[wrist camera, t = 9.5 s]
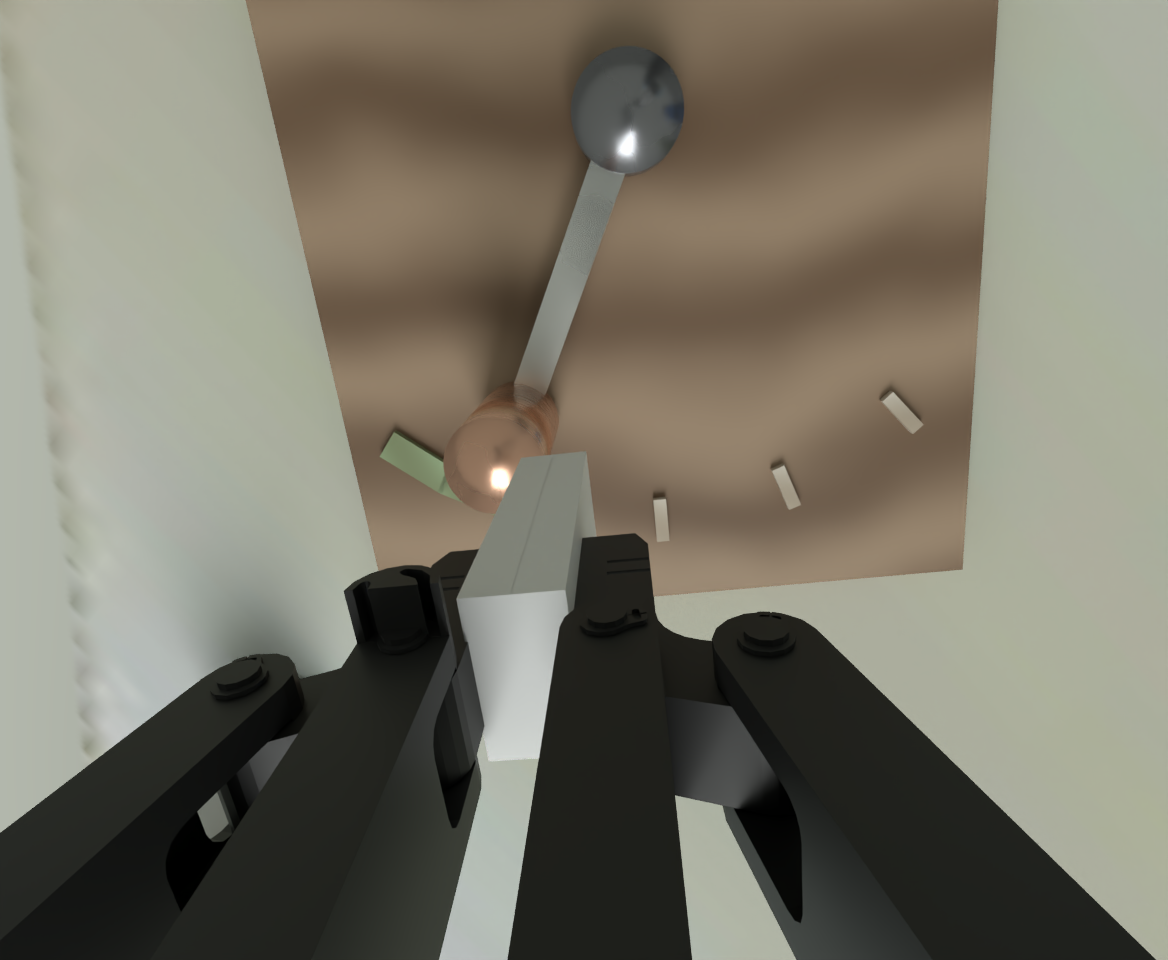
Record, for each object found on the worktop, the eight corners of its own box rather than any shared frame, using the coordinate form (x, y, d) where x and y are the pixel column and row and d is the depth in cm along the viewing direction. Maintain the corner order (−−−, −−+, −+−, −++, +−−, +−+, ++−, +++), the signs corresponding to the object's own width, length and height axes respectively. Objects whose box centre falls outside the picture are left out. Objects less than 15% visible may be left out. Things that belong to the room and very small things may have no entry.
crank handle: (595, 36, 22) (589, -45, 16) (698, 80, 22) (730, 15, 16) (459, 450, 26) (416, 505, 20) (546, 482, 26) (529, 545, 21)
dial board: (260, -18, 23) (232, -40, 21) (981, -131, 21) (1014, -165, 20) (400, 602, 30) (387, 623, 29) (944, 554, 29) (966, 572, 27)
